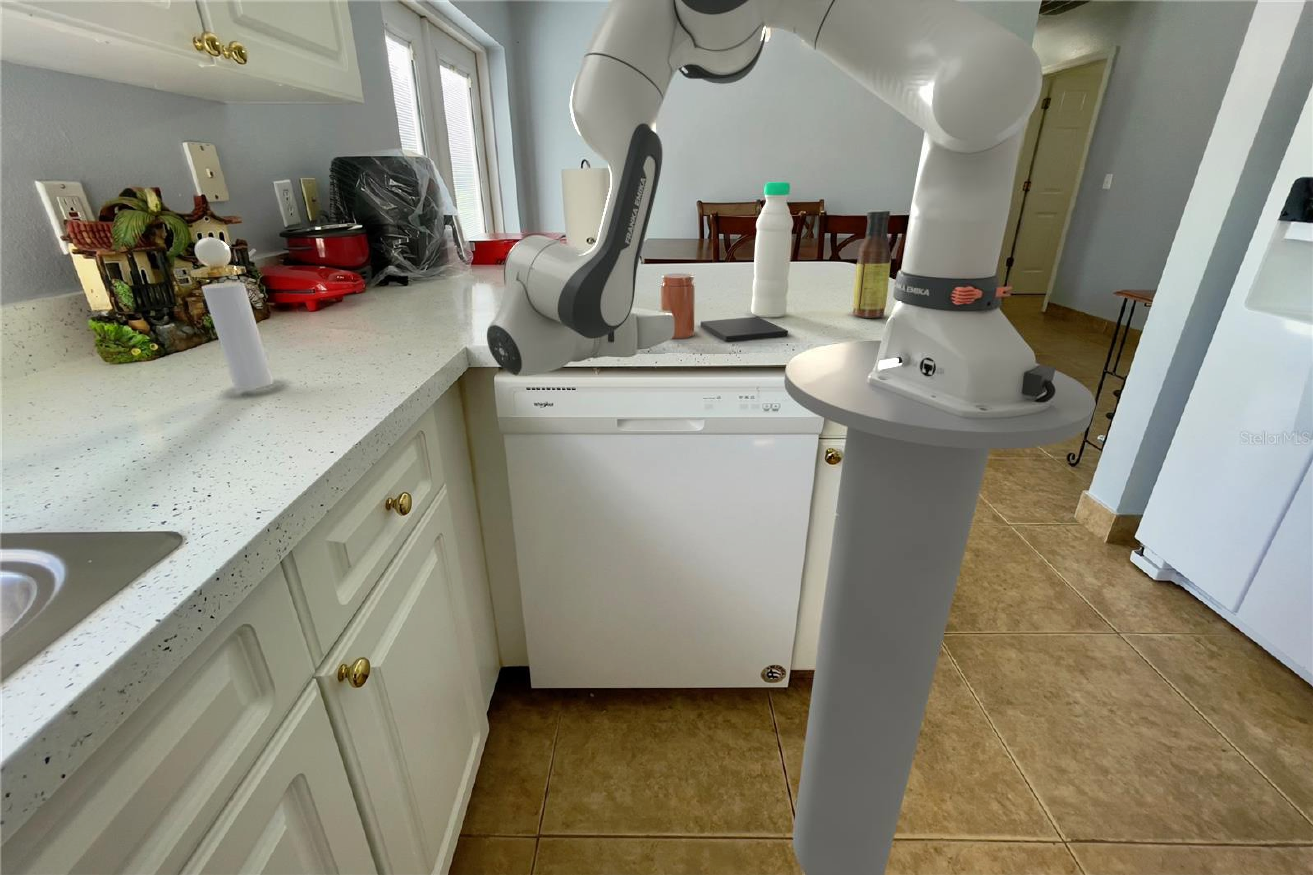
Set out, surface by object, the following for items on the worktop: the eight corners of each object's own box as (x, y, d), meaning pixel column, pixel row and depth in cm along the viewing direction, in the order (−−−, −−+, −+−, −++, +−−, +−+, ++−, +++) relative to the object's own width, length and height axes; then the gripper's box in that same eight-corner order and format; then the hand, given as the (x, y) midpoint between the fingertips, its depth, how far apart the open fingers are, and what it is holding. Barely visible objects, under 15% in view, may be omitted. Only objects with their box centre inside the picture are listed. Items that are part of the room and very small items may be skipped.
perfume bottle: (288, 386, 81) (245, 236, 73) (244, 399, 77) (193, 240, 69) (266, 380, 84) (221, 234, 76) (222, 392, 80) (170, 238, 71)
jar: (699, 336, 104) (700, 277, 100) (667, 339, 102) (667, 279, 98) (687, 329, 109) (688, 272, 105) (657, 331, 108) (656, 274, 103)
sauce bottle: (890, 316, 117) (907, 210, 109) (870, 320, 114) (886, 211, 106) (863, 310, 122) (877, 209, 114) (843, 314, 119) (856, 210, 110)
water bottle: (782, 319, 116) (793, 182, 106) (747, 316, 118) (755, 182, 108) (788, 312, 122) (799, 181, 112) (754, 309, 124) (762, 181, 114)
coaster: (787, 336, 104) (788, 330, 103) (725, 342, 100) (726, 336, 100) (757, 321, 114) (757, 316, 114) (700, 326, 111) (700, 321, 111)
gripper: (542, 338, 95) (601, 322, 104) (639, 359, 83) (695, 339, 93) (539, 299, 92) (599, 286, 102) (637, 315, 80) (695, 299, 90)
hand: (646, 311), depth 97 cm, fingers open, 8 cm apart
